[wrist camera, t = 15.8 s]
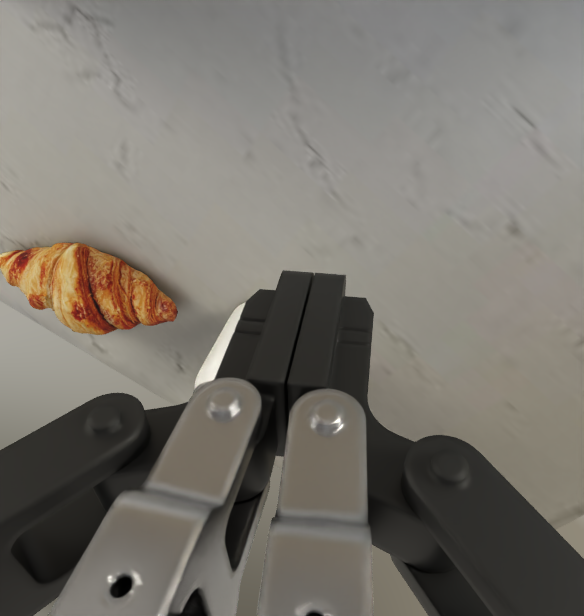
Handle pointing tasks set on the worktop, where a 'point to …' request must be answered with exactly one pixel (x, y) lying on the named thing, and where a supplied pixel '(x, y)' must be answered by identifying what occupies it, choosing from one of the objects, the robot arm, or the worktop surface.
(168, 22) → the worktop surface
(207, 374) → the can
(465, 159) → the worktop surface
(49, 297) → the croissant
